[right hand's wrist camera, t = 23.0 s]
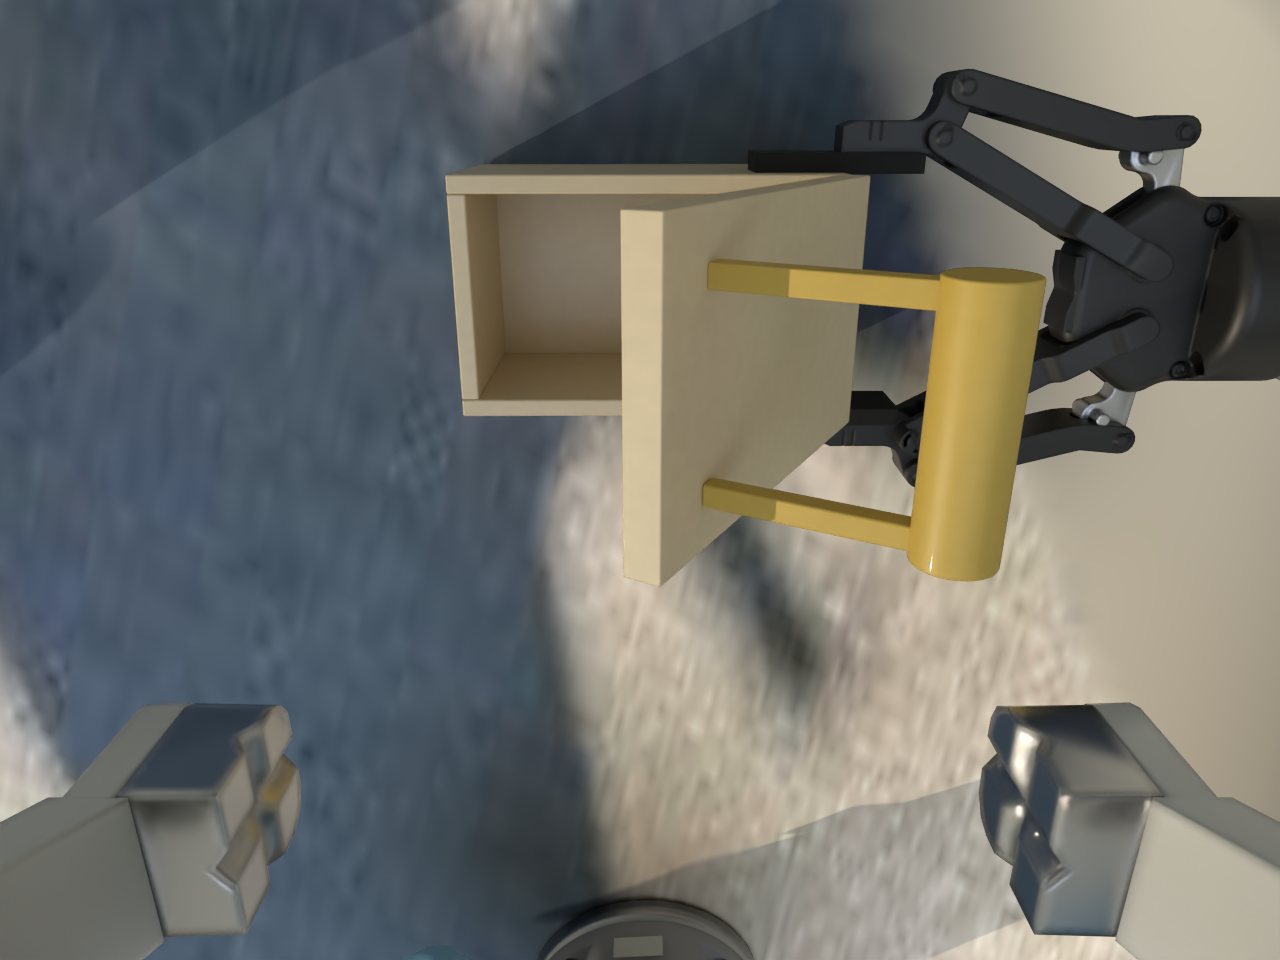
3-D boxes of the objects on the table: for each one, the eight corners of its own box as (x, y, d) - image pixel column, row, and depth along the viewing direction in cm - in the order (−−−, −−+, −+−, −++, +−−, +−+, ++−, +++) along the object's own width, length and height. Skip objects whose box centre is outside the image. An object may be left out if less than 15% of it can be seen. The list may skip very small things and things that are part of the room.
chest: (494, 363, 46) (462, 416, 38) (481, 163, 42) (444, 174, 34) (796, 362, 46) (832, 415, 38) (809, 163, 42) (851, 174, 34)
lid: (622, 577, 24) (969, 670, 20) (619, 208, 21) (1038, 229, 17) (821, 418, 37) (1057, 454, 33) (840, 174, 34) (1106, 181, 30)
